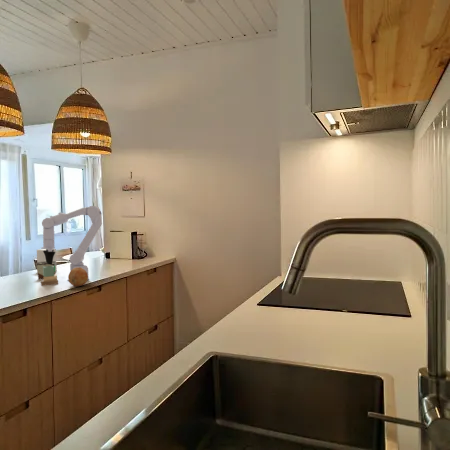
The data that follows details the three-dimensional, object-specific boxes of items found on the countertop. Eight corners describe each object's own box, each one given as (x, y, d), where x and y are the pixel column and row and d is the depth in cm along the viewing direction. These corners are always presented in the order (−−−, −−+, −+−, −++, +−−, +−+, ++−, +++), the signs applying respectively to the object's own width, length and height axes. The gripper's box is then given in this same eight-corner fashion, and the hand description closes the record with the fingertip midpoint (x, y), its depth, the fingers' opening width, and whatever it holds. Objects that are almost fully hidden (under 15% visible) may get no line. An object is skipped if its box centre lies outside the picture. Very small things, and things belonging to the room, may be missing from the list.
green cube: (54, 275, 214) (54, 266, 213) (44, 276, 211) (43, 267, 211) (53, 274, 218) (52, 265, 217) (43, 275, 215) (42, 266, 215)
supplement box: (57, 271, 262) (56, 248, 261) (44, 272, 255) (43, 250, 254) (50, 270, 267) (49, 248, 267) (37, 271, 260) (36, 249, 260)
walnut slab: (58, 285, 213) (58, 280, 213) (42, 286, 209) (41, 282, 209) (56, 282, 220) (56, 278, 220) (40, 284, 216) (40, 279, 216)
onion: (90, 284, 211) (90, 265, 210) (84, 287, 201) (84, 268, 200) (72, 284, 210) (71, 266, 210) (65, 288, 200) (65, 268, 200)
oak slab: (56, 280, 213) (56, 276, 213) (43, 281, 211) (43, 277, 211) (57, 278, 219) (56, 274, 219) (44, 279, 217) (44, 275, 217)
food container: (61, 277, 235) (60, 260, 234) (55, 279, 229) (55, 262, 228) (41, 277, 236) (41, 261, 236) (35, 279, 230) (35, 262, 230)
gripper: (40, 238, 225) (40, 262, 225) (42, 240, 212) (42, 265, 212) (53, 238, 228) (53, 261, 228) (56, 239, 215) (56, 264, 216)
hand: (49, 263), depth 221 cm, fingers open, 7 cm apart
